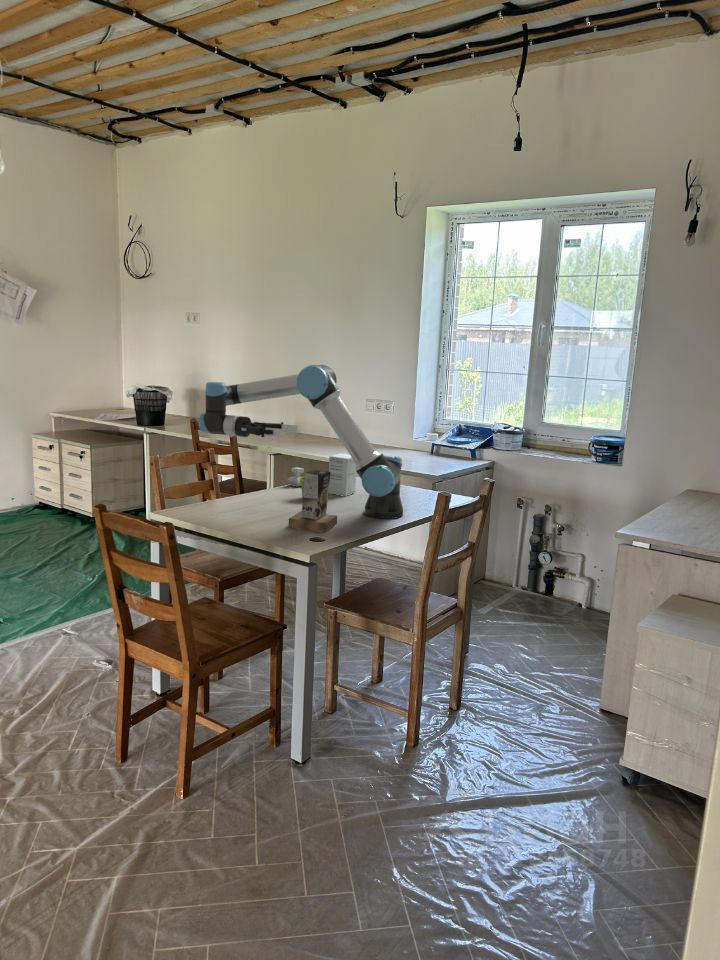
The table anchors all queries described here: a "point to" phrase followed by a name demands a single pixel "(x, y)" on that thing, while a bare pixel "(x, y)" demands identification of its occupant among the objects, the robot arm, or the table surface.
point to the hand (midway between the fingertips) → (290, 431)
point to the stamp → (295, 480)
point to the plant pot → (302, 484)
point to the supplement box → (342, 475)
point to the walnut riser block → (313, 523)
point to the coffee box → (315, 494)
